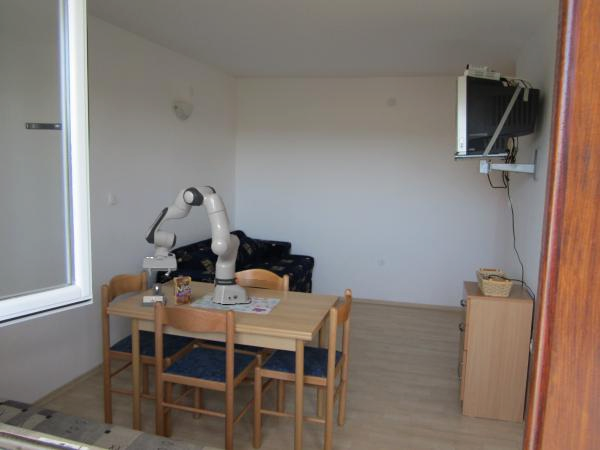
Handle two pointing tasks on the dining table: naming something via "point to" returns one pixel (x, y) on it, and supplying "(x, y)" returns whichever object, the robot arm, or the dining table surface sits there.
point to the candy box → (181, 290)
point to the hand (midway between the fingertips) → (159, 275)
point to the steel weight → (157, 289)
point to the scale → (152, 300)
